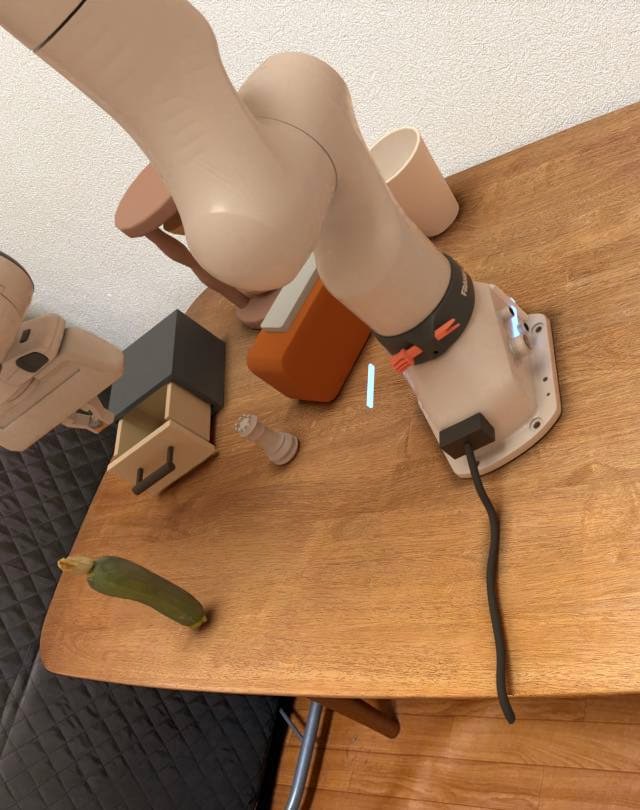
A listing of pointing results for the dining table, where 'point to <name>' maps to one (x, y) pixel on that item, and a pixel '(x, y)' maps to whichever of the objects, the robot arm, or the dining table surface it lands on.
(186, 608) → the vegetable
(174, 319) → the cabinet
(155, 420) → the drawer
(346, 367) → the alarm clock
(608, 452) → the dining table surface
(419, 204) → the cup
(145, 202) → the hourglass
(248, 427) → the rook chess piece
